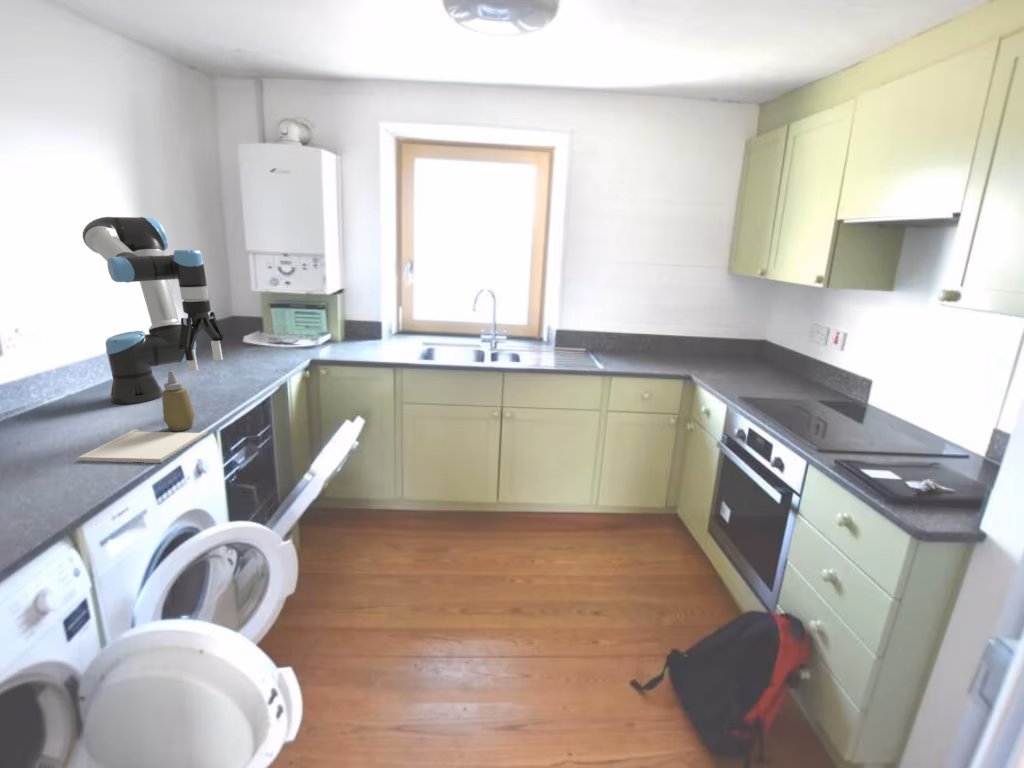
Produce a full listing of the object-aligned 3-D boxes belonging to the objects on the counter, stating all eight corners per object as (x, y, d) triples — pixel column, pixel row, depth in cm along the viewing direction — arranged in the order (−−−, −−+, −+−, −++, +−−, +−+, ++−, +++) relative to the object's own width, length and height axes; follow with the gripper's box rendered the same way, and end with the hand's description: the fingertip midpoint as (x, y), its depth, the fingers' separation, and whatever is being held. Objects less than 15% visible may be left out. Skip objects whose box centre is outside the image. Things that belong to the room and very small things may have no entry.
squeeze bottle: (192, 421, 165) (182, 366, 160) (199, 428, 159) (190, 371, 154) (162, 428, 160) (151, 371, 154) (169, 435, 154) (158, 376, 149)
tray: (135, 432, 156) (135, 429, 155) (207, 434, 155) (206, 430, 154) (79, 461, 136) (78, 457, 136) (161, 463, 136) (160, 458, 135)
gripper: (207, 295, 177) (217, 355, 183) (156, 305, 153) (169, 374, 159) (229, 295, 177) (238, 356, 183) (181, 305, 153) (193, 374, 159)
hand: (206, 364), depth 171 cm, fingers open, 13 cm apart
